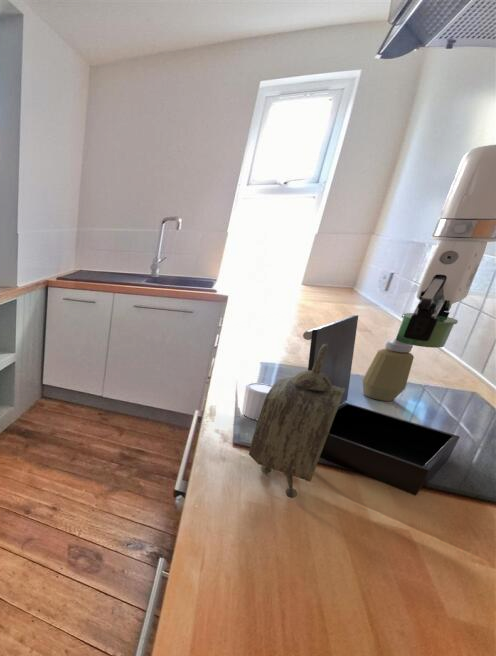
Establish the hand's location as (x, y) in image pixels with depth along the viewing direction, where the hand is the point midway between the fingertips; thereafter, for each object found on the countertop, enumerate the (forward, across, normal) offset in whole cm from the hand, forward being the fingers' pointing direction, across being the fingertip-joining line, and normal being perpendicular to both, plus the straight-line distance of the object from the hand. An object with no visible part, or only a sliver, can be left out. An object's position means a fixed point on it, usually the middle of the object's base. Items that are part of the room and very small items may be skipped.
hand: (422, 334), depth 74 cm
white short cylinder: (+24, -5, +20) cm, 32 cm away
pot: (+1, 0, 0) cm, 1 cm away
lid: (+8, -5, +9) cm, 14 cm away
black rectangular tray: (+24, -6, -1) cm, 24 cm away
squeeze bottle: (+24, +32, +8) cm, 40 cm away
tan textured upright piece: (+24, -27, +6) cm, 37 cm away
